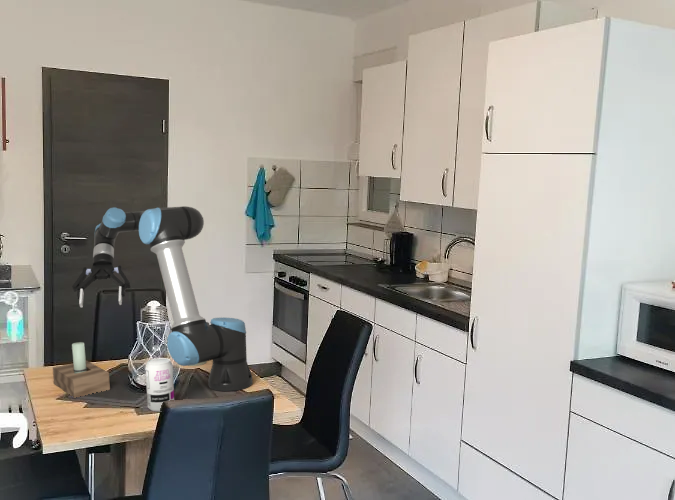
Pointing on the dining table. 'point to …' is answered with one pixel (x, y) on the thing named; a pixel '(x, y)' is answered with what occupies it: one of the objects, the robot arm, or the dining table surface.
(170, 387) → the supplement can
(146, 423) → the dining table surface
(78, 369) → the peg
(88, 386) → the socket block
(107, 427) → the dining table surface
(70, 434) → the dining table surface
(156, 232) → the robot arm
